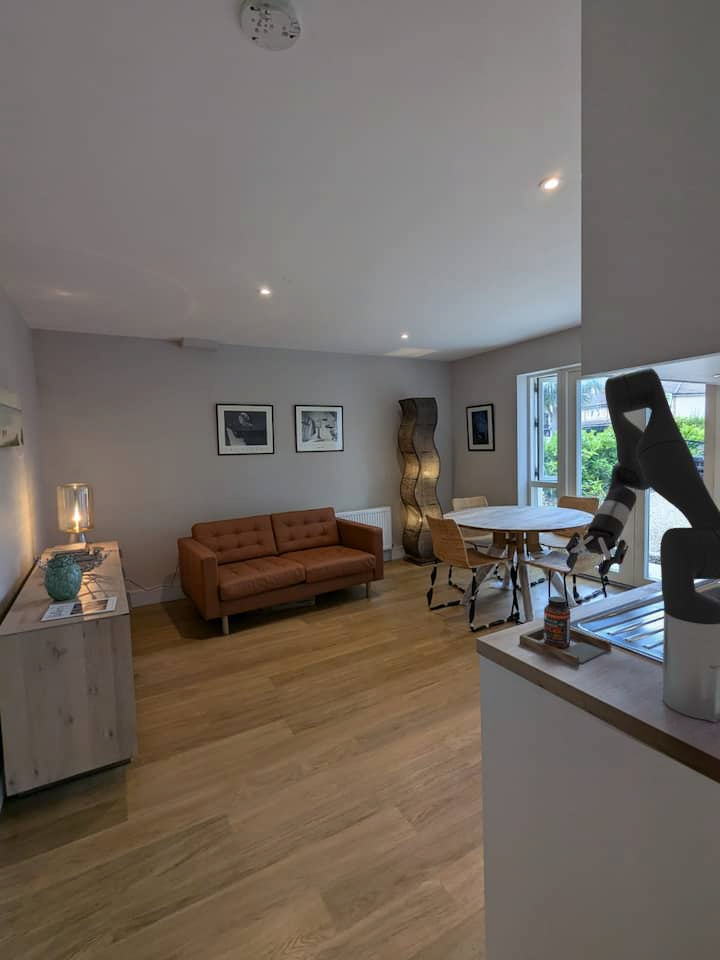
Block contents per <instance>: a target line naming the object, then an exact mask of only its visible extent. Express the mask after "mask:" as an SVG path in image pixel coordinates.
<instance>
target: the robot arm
mask: <svg viewBox="0 0 720 960" xmlns="http://www.w3.org/2000/svg"><path fill="white" fill-rule="evenodd" d="M604 384H605V385H604V394H605V401H606V405H607V410H608V414H609V418H610V423H611V427H612V430H613V434H614V437H615V445H616V458H617V462H616V463H615V465H613V467H612V469H611V478H610V485H609V488H608V491H607V494H606V496H605V498H604V500H603V502H602V503H601V505H600V506H599V508H598V509H597V511H596V513H595V515H594V517H593V519H592V520H591V522H590V524H589V526H588V529H587V532H586V534H584V535H582V534H580V533H578V532H577V531H575V532H574V533H573V535H572V536H571V538H570V539H569V541H568V542H567V544H566V546H565V550H566V552H567V553H568V554H569V555H568V557H567V560H565V561H566V562H565V563H566V566H567V568H568V569H571V570H573V569H574V566H575V565H576V563H577V561H578V558H580V557H581V556H582V555H587V554H589V553H591V554H596V555H600V556H601V555H604V557H605V559H603V560H602V562H601V564H600V565H599V568H598V570H597V572H598V574H599V576H600V577H605V575H606V576H607V575H608V573H609V571H610V569H611V568H612V566H613V565H615V564H617V565H619V566H620V565H622V564H623V562H624V559H625V556H626V554H627V552H628V548H629V545H628V543H627V541H626V540H625V539H620V537H621V535H622V534H623V531H624V529H625V528H626V525H627V523H628V520H629V518H630V514H631V512H632V511H633V508H634V506H635V504H636V502H637V495H636V492H634V491H633V490H632V489H634V490H639V491H647V490H649V489H652V490H653V491H654V492H655V493H657V494H658V495H659V496H661V498H663V499H664V500H666V501H667V502H668V503H669V504H671V505H672V506H674V507H675V508H676V509H677V510H678V511H679V512H680V513H681V514H682V515H683V516H684V517H685V519H686V520H687V521H688V523H689V524H690V527H672V528H668V529H667V530H666V531H664V533H663V534H662V537H661V540H660V549H659V551H660V552H659V555H660V558H659V559H660V574H661V575H660V576H661V579H660V580H661V594H662V599H663V637H662V638H663V641H662V642H663V645H662V646H663V648H662V686H661V687H662V688H661V690H662V701H663V702H664V704H665V705H666V706H668V707H669V708H670V709H672V710H674V711H675V712H677V713H679V714H682V715H685V716H687V717H690V718H695V719H700V720H705V721H710V722H711V723H713V724H714V723H717V722H718V721H719V720H720V599H718V598H716V597H713V596H711V595H707V594H704V593H702V592H699V591H696V586H695V580H720V510H719V508H718V507H717V504H716V503H715V501H714V500H713V498H712V497H711V494H710V492H709V490H708V488H707V486H706V485H705V482H704V480H703V478H702V476H701V474H700V472H699V470H698V467H697V464H696V461H695V459H694V456H693V455H692V452H691V450H690V448H689V446H688V444H687V442H686V440H685V439H684V436H683V435H682V432H681V430H680V428H679V426H678V424H677V422H676V420H675V417H674V415H673V413H672V410H671V408H670V407H671V406H670V404H669V401H668V398H667V395H666V392H665V390H664V387H663V384H662V381H661V378H660V376H659V374H658V373H657V372H656V370H655V369H653V368H651V367H642V368H638V369H634V370H630V371H627V372H622V373H618V374H614V375H613V376H610V377H608V378H607V379H606V381H605V383H604ZM644 409H649V410H650V416H649V420H648V422H647V425H646V427H645V429H644V431H642V429H641V428H639V427H638V425H635V424H634V423H633V422H631V421H630V419H628V417H626V415H625V413H630V412H631V413H632V412H635V411H638V410H644ZM584 547H585V548H584ZM615 548H616V550H615V553H614V555H612V553H611V550H613V549H615Z"/></svg>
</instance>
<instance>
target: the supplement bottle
mask: <svg viewBox="0 0 720 960" xmlns="http://www.w3.org/2000/svg"><path fill="white" fill-rule="evenodd" d="M543 626H544V637H543V641H544V643H546V644H548V645H551V646H553V647H556V648H558V649H564V648H565V649H566V648H569V647H570V644H571V637H570V628H571V610H570V608H569V607H568V606H567V599H566V598H564V597H561V596H556V595H555V596H554V595H553V596H550V597H548V603H547V604H546V606H544V609H543Z"/></svg>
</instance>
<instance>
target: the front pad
mask: <svg viewBox="0 0 720 960" xmlns="http://www.w3.org/2000/svg"><path fill="white" fill-rule="evenodd" d="M563 650H564V651H566V652H569V653H571V654H574V655H576V656H579V665H580V664H581V665H582V664H583V665H584V664H585V663H587V662H589V661H591V660H593V659H595V658H598V657H600V656H602V655H603V654H606V653H607V652H608V651H607V650H605V649H602V648H599V647H596V646H594V645H591V644H588V643H585V642H582V641H580V642H579V643H577V644H574V645H572V646H568V647H566V648H565V649H564V648H563Z"/></svg>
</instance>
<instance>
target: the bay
mask: <svg viewBox="0 0 720 960" xmlns="http://www.w3.org/2000/svg"><path fill="white" fill-rule="evenodd" d="M542 638H544V625H543V626H540V627H538V628H536V629H535V628H534V629H532V630H530V631H528V632H525V633H521V634H520V635H519V644H521V645H523V646H525V647H528V648H531V649H532V650H536V651H538V652H540V653H543V654H544V655H547V656H549V657H552V658H554V659H557V660H560V661H562V662H564V663H567V664H569V665H572V666H574V667H576V668H577V667H579V666H580V663H579V656H576V655H574V654H571V653H569V652H566V651H564V649H562V648H556V647H553V646H551V645H548V644H546V643H545V642H542V641H540V640H538V639H542ZM571 638H572V639H575V640H578V641H580V642H584V643H587V644H590V645H593V646H595V647H598V648H601V649H604V650H607V652H610V651H612V641H611V640H607V639H604V638H601V637H598V636H596V635H593V634H590V633H588V632H587V633H586V632H584V631H581V630H578V629H575V628H573V627H570V639H571Z"/></svg>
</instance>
